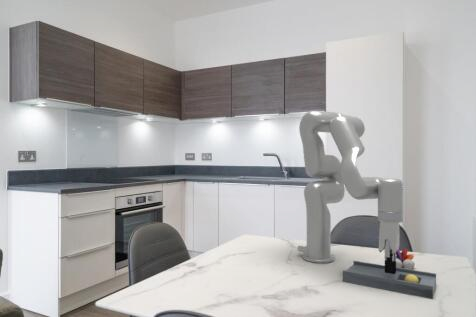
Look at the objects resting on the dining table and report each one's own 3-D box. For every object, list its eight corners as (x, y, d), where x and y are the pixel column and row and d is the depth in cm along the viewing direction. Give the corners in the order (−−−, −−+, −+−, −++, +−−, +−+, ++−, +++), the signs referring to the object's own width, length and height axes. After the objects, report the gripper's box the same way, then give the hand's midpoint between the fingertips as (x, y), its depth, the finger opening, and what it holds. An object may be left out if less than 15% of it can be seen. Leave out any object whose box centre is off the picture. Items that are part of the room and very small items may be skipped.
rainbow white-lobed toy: (417, 272, 124) (417, 252, 124) (389, 270, 126) (389, 250, 126) (410, 265, 133) (410, 246, 133) (384, 263, 135) (384, 245, 135)
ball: (401, 283, 109) (408, 273, 108) (402, 279, 112) (410, 270, 111) (413, 292, 107) (420, 282, 106) (414, 288, 110) (422, 278, 109)
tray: (342, 281, 114) (342, 270, 114) (354, 270, 126) (354, 260, 126) (432, 298, 100) (432, 286, 100) (436, 284, 111) (436, 273, 112)
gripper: (382, 212, 121) (382, 265, 121) (372, 218, 109) (373, 277, 108) (406, 214, 117) (406, 269, 117) (398, 220, 104) (399, 281, 104)
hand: (390, 272), depth 112 cm, fingers closed
